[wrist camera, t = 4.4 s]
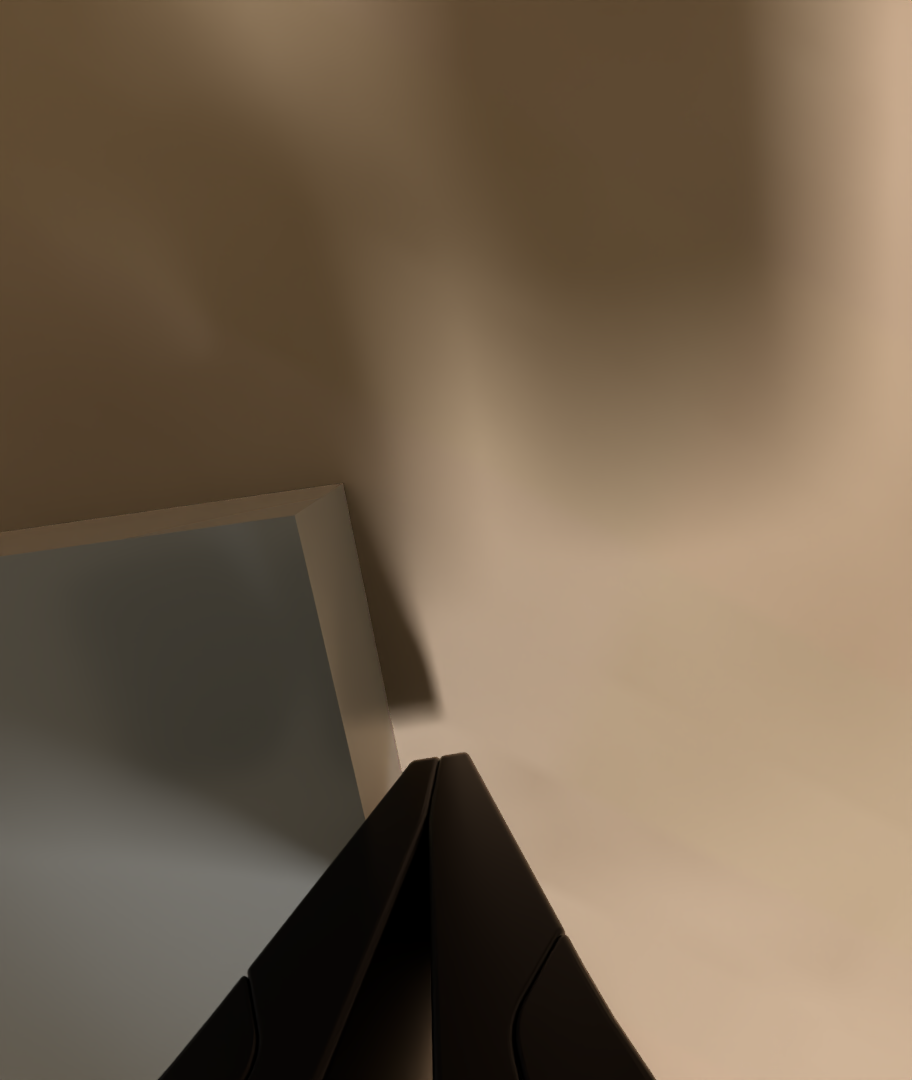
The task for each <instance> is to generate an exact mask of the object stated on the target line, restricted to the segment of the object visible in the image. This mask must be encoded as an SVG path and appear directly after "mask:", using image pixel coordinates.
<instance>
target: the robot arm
mask: <svg viewBox="0 0 912 1080" xmlns="http://www.w3.org/2000/svg"><path fill="white" fill-rule="evenodd" d="M247 975H248V977H247V976H242V977H241V978H240V979H239V980H238V982H237V983H236V984H235V985H234V987H233V988H232V989H231V991H230V992H229V993H228V994H227V996H226V997H225V998H224V999H223V1001H222V1002H221V1003H220V1004H219V1006H218V1007H217V1008H216V1010H215V1011H214V1012H213V1013H212V1014H211V1016H210V1017H209V1018H208V1019H207V1021H206V1022H205V1023H204V1024H203V1025H202V1027H201V1028H200V1029H199V1030H198V1032H197V1033H196V1034H195V1035H194V1036H193V1038H192V1039H191V1040H190V1041H189V1043H188V1044H187V1045H186V1046H185V1047H184V1049H183V1050H182V1051H181V1052H180V1053H179V1055H178V1056H177V1057H176V1058H175V1060H174V1061H173V1062H172V1063H171V1064H170V1066H169V1067H168V1068H167V1069H166V1070H165V1071H164V1073H163V1074H162V1075H161V1076H160V1077H159V1078H158V1079H157V1080H656V1079H655V1078H654V1076H653V1075H652V1073H651V1072H650V1070H649V1069H648V1067H647V1066H646V1064H645V1063H644V1061H643V1060H642V1058H641V1057H640V1055H639V1054H638V1052H637V1051H636V1049H635V1048H634V1046H633V1045H632V1043H631V1042H630V1040H629V1039H628V1037H627V1036H626V1034H625V1033H624V1031H623V1030H622V1028H621V1027H620V1025H619V1024H618V1022H617V1021H616V1019H615V1018H614V1016H613V1014H612V1012H611V1011H610V1009H609V1007H608V1006H607V1004H606V1002H605V1001H604V999H603V997H602V995H601V994H600V992H599V990H598V989H597V987H596V985H595V984H594V982H593V980H592V978H591V977H590V975H589V973H588V972H587V970H586V968H585V967H584V965H583V963H582V961H581V959H580V957H579V956H578V954H577V952H576V950H575V948H574V946H573V945H572V943H571V941H570V939H569V937H568V936H566V935H565V931H564V929H563V927H562V925H561V923H560V921H559V920H558V918H557V916H556V914H555V912H554V910H553V909H552V907H551V905H550V903H549V901H548V899H547V898H546V896H545V894H544V892H543V890H542V888H541V886H540V885H539V883H538V881H537V879H536V877H535V875H534V874H533V872H532V870H531V868H530V866H529V864H528V863H527V861H526V859H525V857H524V855H523V853H522V852H521V850H520V848H519V846H518V844H517V842H516V840H515V839H514V837H513V835H512V833H511V831H510V829H509V828H508V826H507V824H506V822H505V820H504V818H503V817H502V815H501V813H500V811H499V809H498V807H497V805H496V804H495V802H494V800H493V798H492V796H491V794H490V793H489V791H488V789H487V787H486V785H485V783H484V782H483V780H482V778H481V776H480V774H479V772H478V771H477V769H476V767H475V765H474V763H473V761H472V759H471V758H470V756H469V755H468V754H467V753H465V752H463V753H457V754H451V755H445V756H442V757H441V758H440V759H439V758H438V757H432V758H426V759H419V760H414V761H412V762H411V763H410V764H409V765H408V767H407V768H406V769H405V771H404V772H403V773H402V774H401V776H400V777H399V778H398V779H397V781H396V782H395V783H394V784H393V786H392V787H391V788H390V790H389V791H388V792H387V793H386V795H385V796H384V797H383V798H382V800H381V801H380V802H379V803H378V805H377V806H376V807H375V809H374V810H373V811H372V812H371V814H370V815H369V816H368V817H367V819H366V820H365V821H364V822H363V824H362V825H361V826H360V828H359V829H358V830H357V831H356V833H355V834H354V835H353V836H352V838H351V839H350V840H349V841H348V843H347V844H346V845H345V847H344V848H343V849H342V850H341V852H340V853H339V854H338V855H337V857H336V858H335V859H334V860H333V862H332V863H331V864H330V866H329V867H328V868H327V869H326V871H325V872H324V873H323V874H322V876H321V877H320V878H319V879H318V881H317V882H316V883H315V885H314V886H313V887H312V888H311V890H310V891H309V892H308V893H307V895H306V896H305V897H304V898H303V900H302V901H301V902H300V904H299V905H298V906H297V907H296V909H295V910H294V911H293V912H292V914H291V915H290V916H289V917H288V919H287V920H286V921H285V923H284V924H283V925H282V926H281V928H280V929H279V930H278V931H277V933H276V934H275V935H274V936H273V938H272V939H271V940H270V942H269V943H268V944H267V945H266V947H265V948H264V949H263V950H262V952H261V953H260V954H259V955H258V957H257V958H256V959H255V961H254V962H253V963H252V964H251V966H250V967H249V968H248V971H247Z"/></svg>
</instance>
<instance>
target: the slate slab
mask: <svg viewBox="0 0 912 1080" xmlns="http://www.w3.org/2000/svg"><path fill="white" fill-rule="evenodd" d="M401 774H402V770H401V766H400V761H399V756H398V751H397V746H396V741H395V736H394V731H393V726H392V721H391V716H390V711H389V707H388V702H387V697H386V692H385V687H384V682H383V677H382V672H381V667H380V662H379V657H378V652H377V647H376V643H375V638H374V633H373V628H372V623H371V618H370V613H369V608H368V603H367V598H366V593H365V588H364V584H363V579H362V574H361V569H360V564H359V559H358V554H357V549H356V544H355V539H354V534H353V529H352V525H351V520H350V515H349V510H348V505H347V500H346V495H345V490H344V485H343V483H339V484H332V485H325V486H318V487H311V488H304V489H297V490H290V491H283V492H277V493H270V494H263V495H256V496H249V497H242V498H235V499H228V500H221V501H214V502H207V503H200V504H193V505H186V506H179V507H172V508H165V509H158V510H151V511H144V512H137V513H130V514H124V515H117V516H110V517H103V518H96V519H89V520H82V521H75V522H68V523H61V524H54V525H47V526H40V527H33V528H26V529H19V530H12V531H5V532H0V1080H157V1079H158V1078H159V1077H160V1076H161V1075H162V1074H163V1073H164V1071H165V1070H166V1069H167V1068H168V1067H169V1066H170V1064H171V1063H172V1062H173V1061H174V1060H175V1058H176V1057H177V1056H178V1055H179V1053H180V1052H181V1051H182V1050H183V1049H184V1047H185V1046H186V1045H187V1044H188V1043H189V1041H190V1040H191V1039H192V1038H193V1036H194V1035H195V1034H196V1033H197V1032H198V1030H199V1029H200V1028H201V1027H202V1025H203V1024H204V1023H205V1022H206V1021H207V1019H208V1018H209V1017H210V1016H211V1014H212V1013H213V1012H214V1011H215V1010H216V1008H217V1007H218V1006H219V1004H220V1003H221V1002H222V1001H223V999H224V998H225V997H226V996H227V994H228V993H229V992H230V991H231V989H232V988H233V987H234V985H235V984H236V983H237V982H238V980H239V979H240V978H241V977H242V976H247V977H248V975H247V971H248V968H249V967H250V966H251V964H252V963H253V962H254V961H255V959H256V958H257V957H258V955H259V954H260V953H261V952H262V950H263V949H264V948H265V947H266V945H267V944H268V943H269V942H270V940H271V939H272V938H273V936H274V935H275V934H276V933H277V931H278V930H279V929H280V928H281V926H282V925H283V924H284V923H285V921H286V920H287V919H288V917H289V916H290V915H291V914H292V912H293V911H294V910H295V909H296V907H297V906H298V905H299V904H300V902H301V901H302V900H303V898H304V897H305V896H306V895H307V893H308V892H309V891H310V890H311V888H312V887H313V886H314V885H315V883H316V882H317V881H318V879H319V878H320V877H321V876H322V874H323V873H324V872H325V871H326V869H327V868H328V867H329V866H330V864H331V863H332V862H333V860H334V859H335V858H336V857H337V855H338V854H339V853H340V852H341V850H342V849H343V848H344V847H345V845H346V844H347V843H348V841H349V840H350V839H351V838H352V836H353V835H354V834H355V833H356V831H357V830H358V829H359V828H360V826H361V825H362V824H363V822H364V821H365V820H366V819H367V817H368V816H369V815H370V814H371V812H372V811H373V810H374V809H375V807H376V806H377V805H378V803H379V802H380V801H381V800H382V798H383V797H384V796H385V795H386V793H387V792H388V791H389V790H390V788H391V787H392V786H393V784H394V783H395V782H396V781H397V779H398V778H399V777H400V776H401Z"/></svg>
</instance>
